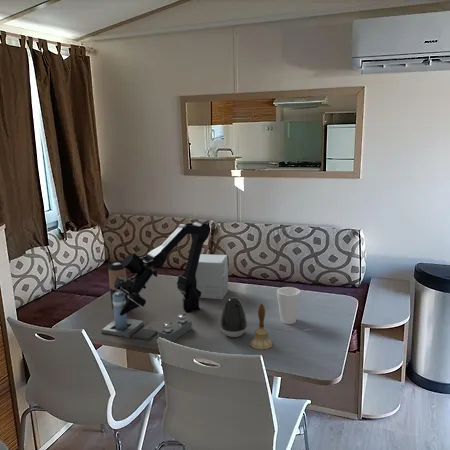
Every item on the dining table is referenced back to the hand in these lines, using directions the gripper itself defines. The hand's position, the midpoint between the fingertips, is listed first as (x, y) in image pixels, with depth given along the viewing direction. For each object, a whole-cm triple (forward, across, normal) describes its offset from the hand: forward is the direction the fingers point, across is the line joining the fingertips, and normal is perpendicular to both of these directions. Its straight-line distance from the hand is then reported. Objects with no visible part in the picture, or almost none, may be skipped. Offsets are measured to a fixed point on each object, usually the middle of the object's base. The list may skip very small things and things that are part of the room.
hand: (116, 311), depth 179 cm
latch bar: (-6, +17, +18) cm, 25 cm away
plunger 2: (-10, +15, +19) cm, 27 cm away
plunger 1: (-4, +19, +13) cm, 23 cm away
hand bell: (-21, +44, +32) cm, 59 cm away
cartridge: (+5, 0, +7) cm, 8 cm away
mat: (+1, +10, +11) cm, 15 cm away
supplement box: (-30, -10, +42) cm, 53 cm away
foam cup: (-36, +36, +48) cm, 70 cm away
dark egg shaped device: (-18, +31, +30) cm, 47 cm away
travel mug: (-2, -25, +14) cm, 29 cm away
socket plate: (+4, -1, +7) cm, 9 cm away
